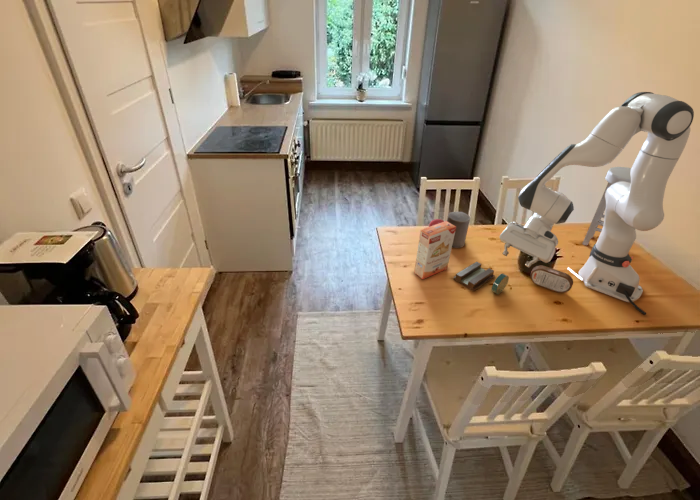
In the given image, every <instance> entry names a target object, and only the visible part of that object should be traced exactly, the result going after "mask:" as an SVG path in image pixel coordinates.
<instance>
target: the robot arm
mask: <svg viewBox="0 0 700 500" xmlns="http://www.w3.org/2000/svg"><path fill="white" fill-rule="evenodd" d="M694 116H695V112H694V109H693V107H692V106H691V105H690V104H689V103H687V102H685V101H682V100H679V99H676V98H675V97H672V96H669V95H664V94H659V93H654V92H651V91H639V92H636V93H634V94H632V95H630V96H629V97H628V98H627V99H626V100H624V102H623V103H622V104H621V105H620V106H616V107H613V108H612V109H611V110H610V111H609V112H608V113H606V115H605V116H604V117H603V118H601V120H600V121H599V122H598V123H597V124H596V125H595V126H594V128H593V129H592V130H591V131H590V133H589V134H588V136H587V137H586V138H584V139H583V140H581V141H580V142H578V143H576V144H575V143H571V144H569V145H568V146H567V147H565V148H564V149H562V151H561V152H560V153H559V154H558V155H556V156H555V157H554V158H553V159H552V160H551V161H550V162H549V163H548V164H547V165H546V166H545V167H544V168H543V169H542V170H541V172H539V174H538V175H536V176H535V178H533V179H532V180H531V181H530V182H528V183H527V184H526V185H525V186H523V187H522V189H521V190H520V192H519V193H518V196H517V199H518V202H519V205H520V207H522V208H525V209H526V210H529V211H530V212H533V214H532V215H531V216H530V217H529V218H528V220H527V221H526V223H525V224H521V223H518V222H517V221H511V222H508V224H507V225H506V227H505V229H504V230H502V232H501V233H500V235H499V240H500V242H501V243H503V244H504V250H503V252H501V253H502V256H504V257H508V255H509V251H508V249H510V247H511V248H514V249H515V250H518V251H519V252H521V253H524V254H526V255H528V256H530V257H532V260H530V261H528V260H526V262H525V263H524V266H525V267H527V268H530V267H531V266H532V265H534V264H535V263H538V262H539V261H541V262H543V263H545V264H548V263H549V262H551V260H552V259H553V257H554V255H555V254H556V247H557V246H558V245H559V239H558V237H557V235H556V234H555V233H553V232H552V229H553V227H554V225H561V224H565V223H566V222H567V221H568V219H569V217H570V215H571V214H572V212H574V210H575V209H574V208H575V207H574V203H573V201H572V200H571V199H570V198H569V197H568V196H567V195H566V194H564V193H563V192H560V191H555V190H552V189H551V188H550V187H547V186H546V184H547V183H548V182H549V181H550V180H551V179H552V178H553V177H554V176H555V175H556V174H557V173H558V172H559V171H560V170H561V169H563V168H565V167H568V166H581V167H588V168H589V167H590V168H600V167H604V166H607V165H609V164H611V163H612V162H613V161H614V160H616V159H617V157H618V156H619V155H620V154H621V153H622V151H623V150H624V149H625V148H626V147H627V146H628V144H629V142H630V141H631V140H632V138H633V137H634V136H635V135H636V134H638V133H640V132H644V133H647V137H646V138H645V140H644V142H643V144H642V146H641V147H640V149H639V152H638V154H637V156H636V157H635V160H634V162H633V164H632V165H631V167H630V168H631V170H630V176H631V183H628V182H624V181H621V182H617V183H614V184H612V185H611V186H610V187H609V188H608V189H607V191H606V193H605V199H606V209H605V211H604V215H605V218H603V221H604V224H603V226H602V228H601V229H602V231H601V232H599V236H598V238H597V241H596V243H595V244H593V246H592V248H591V250H590V252H589V255H588V259H587V260H586V262H585V263H584V264H583V266H582V267H581V268H580V269H579V270H578V273H576V272H575V271H574V270H573V269H571V268H570V267H567V271H569V272H570V273H571V274H573V275H574V276H576V277H577V279H579V280H581V281H583V283H584V286H585V287H587V288H589V289H590V290H593V291H597V292H599V293H602V294H604V295H607V296H610V297H612V298H615V299H617V300H620V301H623V302H626V303H630V304H631V306H633V307H634V308H635V309H636V310H637V311H639V312H640V313H641V314H643V315H644V316H645V315H647V312H646V311H644V310H643V309H642V308H640V307H639V306H638V305H637V304H636V303H635V302H636V301H638V300H639V299H640V298H641V296H643V291H644V290H643V287H642V286H641V285H639V284H640V280H641V279H640V275H639V273H637V271H636V270H635V269H634V268H633V266H632V265H631V263H632V262H633V259H634V256H633V255H632V256H631V255H630V254H629V253H630V251H631V249H632V247H633V245H634V243H635V242H636V239H637V231H640V232H648V231H651V230H654V229H656V228H657V227H659V226H660V225H661V224H662V222H663V221H664V219H665V211H664V198H665V192H666V188H667V184H668V181H669V178H670V177H671V175H672V173H673V171H674V169H675V167H676V165H677V164H678V161H679V159H680V158H681V156H682V154H683V152H684V149H685V147H686V145H687V143H688V140H689V138H690V133H691V126H692V124H693V121H694Z"/></svg>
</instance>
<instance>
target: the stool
mask: <svg viewBox="0 0 700 500" xmlns="http://www.w3.org/2000/svg"><path fill="white" fill-rule="evenodd" d="M631 168H632V167H627V166H613V167H610V168H609V169H608V170H607V173H606V175H605V177H604V179H605V181H607V185H606V187H605V189H604V192H603V194H602V196H601V199H600V200H599V203H598V205H597V208H596V210H595V213H594V215H593V217H592V219H591V221H590V225H589V227H588V229H587V231H586V234H585V236H584V239H583V241H582V243H581V244H582V245H583V246H588V245H589V244H590V241H591V239H593V238H594V236H595V234H596V232H599V233H601V231H602V228H600V227H599V226H601V227H603V224H604V220H602V218H603V219H604V218H605V211H606V199H605V193H606V191H607V189H608V188H609V187H610V186H611V185H612V184H614V183H617V182H621V181H624V182H628V183H631V176H630V170H631Z"/></svg>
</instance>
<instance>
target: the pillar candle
mask: <svg viewBox="0 0 700 500" xmlns="http://www.w3.org/2000/svg"><path fill="white" fill-rule="evenodd" d="M446 221H447V222H449V223H451V224H452V225H454V226H456V231H455V235H454V240H453V244H452V248H454V249H460V248H462V247H464V246H465V244H466V238H467V235H468V232H469V231H468V229H469V225H470V222H471V216H470V215H469V214H467V213H466V212H463V211H451V212H449V213H448V215H447V218H446Z"/></svg>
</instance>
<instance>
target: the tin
mask: <svg viewBox="0 0 700 500" xmlns="http://www.w3.org/2000/svg"><path fill="white" fill-rule="evenodd" d="M529 278H530V280H531V281H532V283H534V284H535V285H536V286H539V287H542V288H545V289H547V290H550V291H553V292H556V293H560V294H563V293H564V294H565V293H568V292H569V291H571V289H572V288H573V286H574V279H573V277H572V276H571V275H569V274H568V273H567V272H565V271H564V272H563V271H561V270H558V269H555V268H552V267H548V266H545V265H536V266H534V267H533V268H532V270H531V271H530V277H529Z"/></svg>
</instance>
